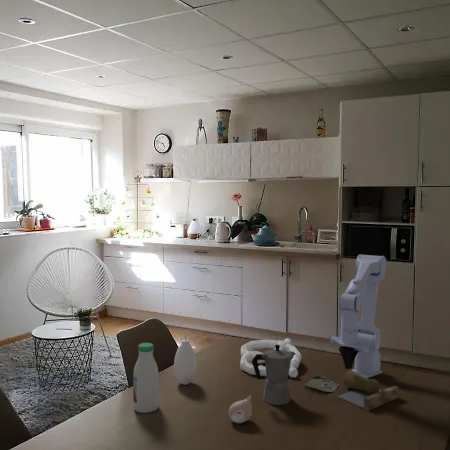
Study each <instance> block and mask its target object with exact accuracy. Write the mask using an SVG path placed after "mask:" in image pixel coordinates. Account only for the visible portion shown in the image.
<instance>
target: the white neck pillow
mask: <svg viewBox="0 0 450 450" xmlns="http://www.w3.org/2000/svg"><path fill="white" fill-rule="evenodd" d="M275 345H280V348H279V350H285V351H291V352H294V353H296V354H295V355H294V356H293V358H292V360H291V363H290V369H289V375H288V377H290V378H293V379H294V378H297V377H298V375H299V371H298V369H297V368H299V365H300V363H301V360H302V357H303V356H302V353H300V351H299V350H298V349H297V348H296V346H295V345H293V341H292V339H290V338H288V337H287V338H285V339H284V340H280V339H278V340H276V339H275V340H273V339H272V338H271V339H261V340H260V339H257V340H254V339H253V340H252V341H248V342H247V343H245V344H243V345H241V347H240V356H241V358H240V361H239V362H240V363H239V367H240V369H241V370H242V371H244V372H246V373H247V374H249V375H250V376H251V375H253V376H256V373H255V370H254V367H253V364H252V359H253V358H254V357H255V355H257V354H263V353H264V352H261V351H257V350H261V349H272V350H276V348H275ZM257 363H258V364H260V365H258V368H259V370H260V376H264V377H267V375H266V367H265V366H264V365H263V364H261V363H264V364H265V360H258V361H257Z"/></svg>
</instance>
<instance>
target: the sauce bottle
mask: <svg viewBox="0 0 450 450" xmlns="http://www.w3.org/2000/svg"><path fill="white" fill-rule="evenodd" d="M173 361H174V363H173V372H174V375H175V379H176V380H177V381H178V382H179V383H180V384H181V385H183V386H184V385H189V384H190V383H191V382H193V380H194V378H195V377H196V374H197V367H198V365H197V364H198V363H197V361H198V360H197V356H196V352H195V349H194V348H193V346H192V345H191V343H190V340H188V339H187V333H185V334H184V339H182V340H181V343H180V345H179V346H178V348H177V350H176V352H175V355H174V360H173Z"/></svg>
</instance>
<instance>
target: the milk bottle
mask: <svg viewBox="0 0 450 450" xmlns="http://www.w3.org/2000/svg"><path fill="white" fill-rule="evenodd" d="M137 348H138V351H137V352H138V357H137V360H136V363H135V366H134V367H133V378H132V379H133V380H132V381H133V385H132V387H133V392H132V393H133V397H132V398H133V399H132V401H133V410H135V412H137V413H141V414H149V413H152V412H155V411H156V410H157V409H159V405H160V403H159V402H160V401H159V399H160V398H159V397H160V394H159V393H160V391H159V390H160V389H159V388H160V387H159V385H160V384H159V382H160V381H159V377H160V375H159V367H158V364H157V362H156V360H155V357H154V354H153V353H154V344H153V343H151V342H141V343H139V344H138V346H137Z"/></svg>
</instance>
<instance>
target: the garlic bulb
mask: <svg viewBox="0 0 450 450" xmlns="http://www.w3.org/2000/svg"><path fill="white" fill-rule="evenodd" d="M251 398H252V396H251V394H249V395H248V396H247V397H245V398H244V399H240V400H238V401H235V402H234V403H232V404H231V405H230V407H229V409H228V412H227V413H228V416H229V418H230V420H231V421H233V422H234V423H236V424H242V423H245V422H247V421H249V420H250V419H251V418H252V417H251V416H252V413H253V404H252V402H251Z"/></svg>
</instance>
